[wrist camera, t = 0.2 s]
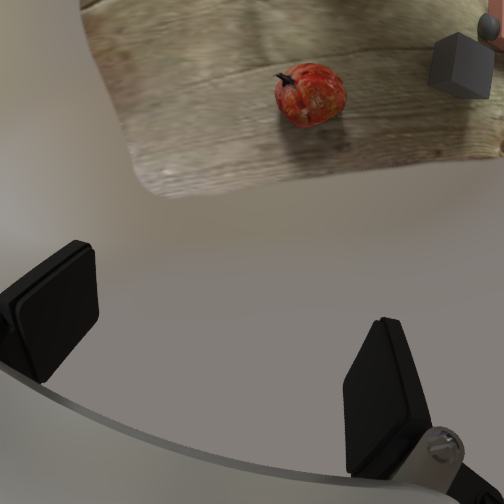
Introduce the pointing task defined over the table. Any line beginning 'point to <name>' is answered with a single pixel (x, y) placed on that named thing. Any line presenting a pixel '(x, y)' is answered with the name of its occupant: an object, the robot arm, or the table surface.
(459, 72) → the dark grey rounded cube
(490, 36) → the toy tractor cart
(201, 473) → the robot arm
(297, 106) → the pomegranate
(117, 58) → the table surface
